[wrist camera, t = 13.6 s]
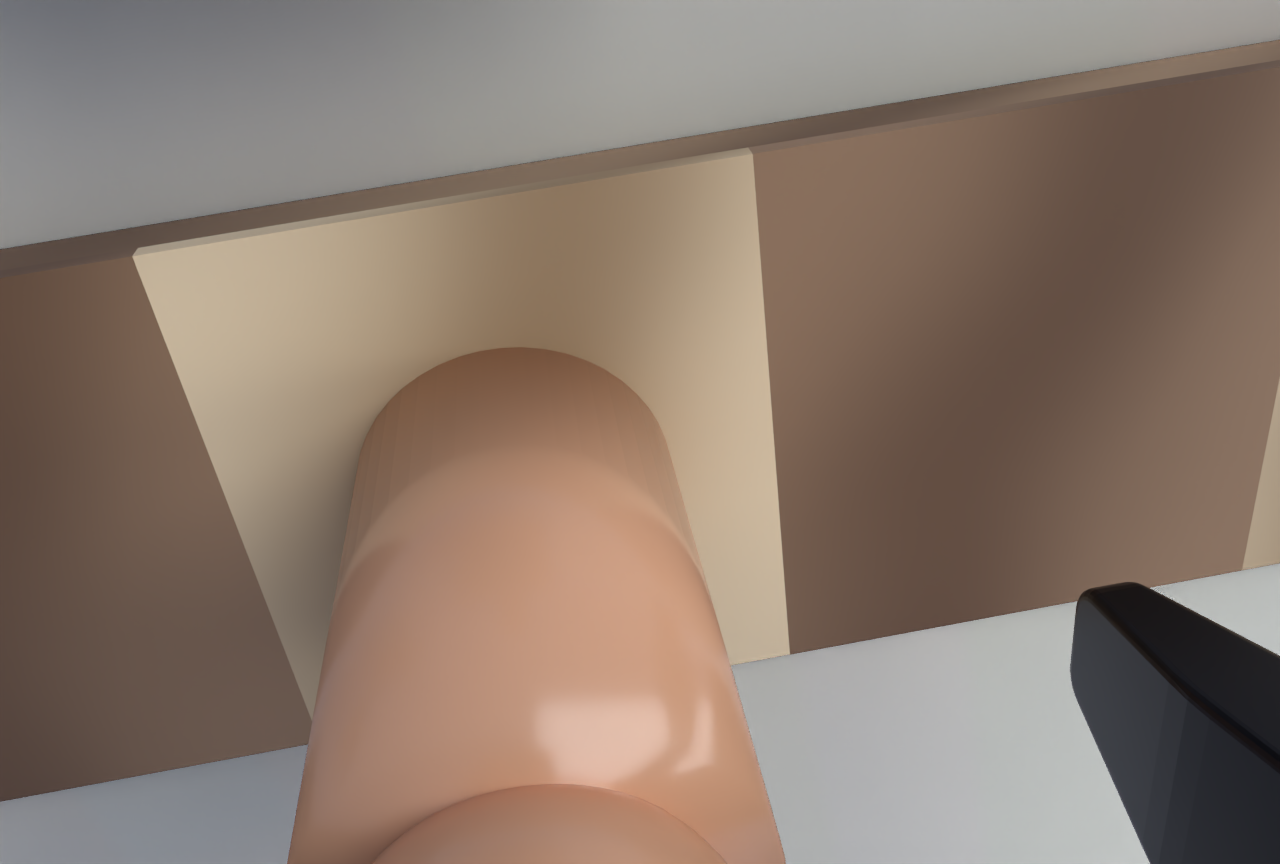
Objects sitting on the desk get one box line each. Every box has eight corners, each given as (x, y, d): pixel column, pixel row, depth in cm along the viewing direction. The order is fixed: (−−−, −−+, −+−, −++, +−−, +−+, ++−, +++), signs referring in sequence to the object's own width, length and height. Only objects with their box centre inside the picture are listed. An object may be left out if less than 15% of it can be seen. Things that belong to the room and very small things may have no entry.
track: (1815, -48, 11) (1904, -37, 11) (1619, 454, 14) (1677, 488, 14) (-455, 323, 10) (-523, 364, 10) (-136, 778, 13) (-169, 833, 13)
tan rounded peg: (668, 332, 11) (922, 1070, 5) (675, 596, 12) (873, 1404, 6) (329, 362, 11) (116, 1191, 4) (383, 628, 12) (284, 1506, 6)
